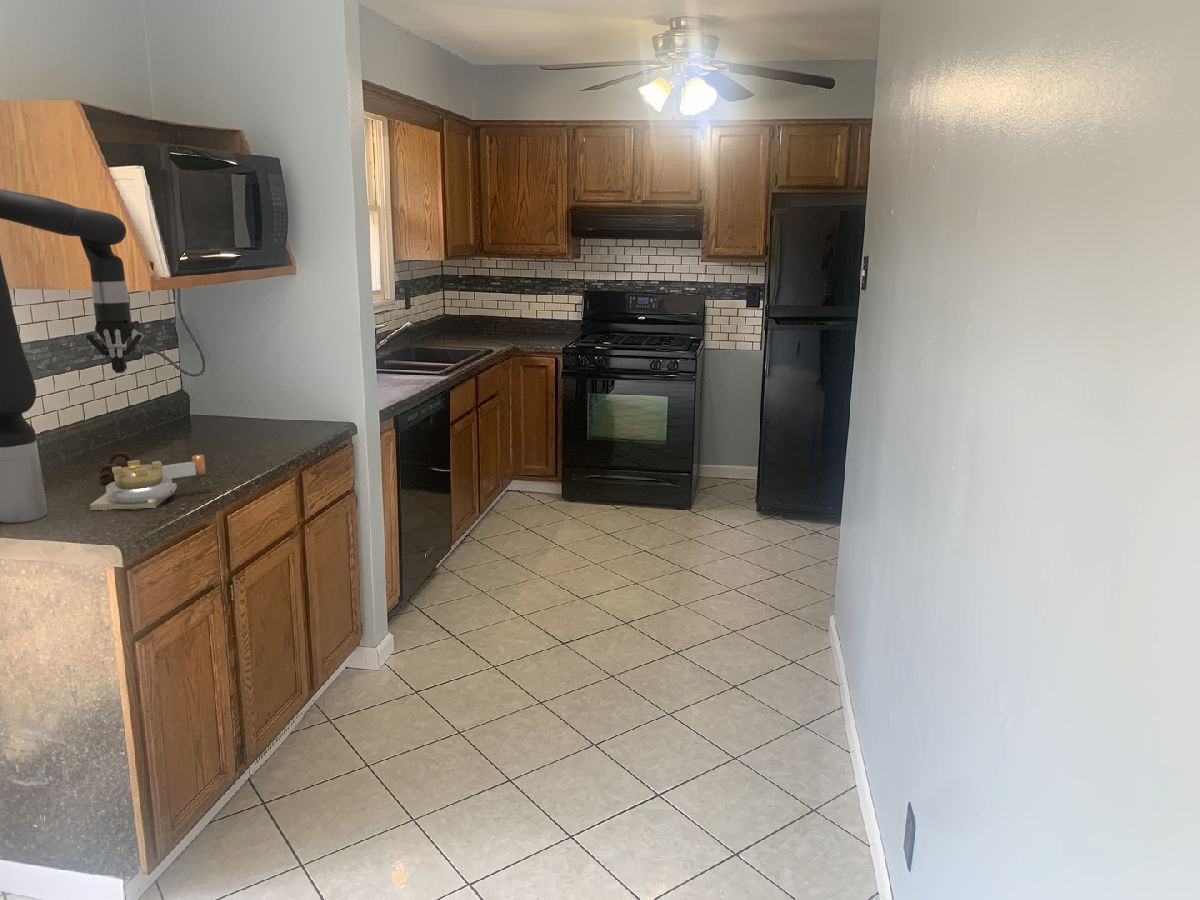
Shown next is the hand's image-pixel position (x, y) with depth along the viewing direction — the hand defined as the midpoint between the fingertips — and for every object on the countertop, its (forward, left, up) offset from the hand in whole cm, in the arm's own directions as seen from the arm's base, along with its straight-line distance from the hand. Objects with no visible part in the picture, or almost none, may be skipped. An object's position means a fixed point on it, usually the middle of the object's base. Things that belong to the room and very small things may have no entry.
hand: (120, 372), depth 218 cm
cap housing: (+5, -11, -29) cm, 32 cm away
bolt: (-9, +10, -30) cm, 32 cm away
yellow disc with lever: (+10, -11, -24) cm, 28 cm away
